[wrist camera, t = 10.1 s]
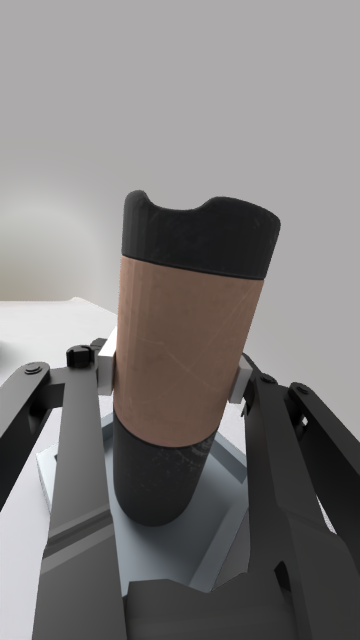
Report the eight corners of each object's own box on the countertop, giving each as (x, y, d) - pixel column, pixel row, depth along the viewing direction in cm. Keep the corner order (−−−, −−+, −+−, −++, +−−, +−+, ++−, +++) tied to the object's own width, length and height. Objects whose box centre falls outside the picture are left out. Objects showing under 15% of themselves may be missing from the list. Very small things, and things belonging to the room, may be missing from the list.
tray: (39, 477, 16) (35, 454, 15) (160, 401, 26) (162, 384, 25) (125, 775, 7) (130, 771, 6) (254, 491, 18) (264, 471, 16)
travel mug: (177, 422, 21) (217, 233, 14) (216, 503, 14) (324, 229, 8) (105, 443, 17) (112, 206, 11) (115, 561, 11) (149, 158, 4)
